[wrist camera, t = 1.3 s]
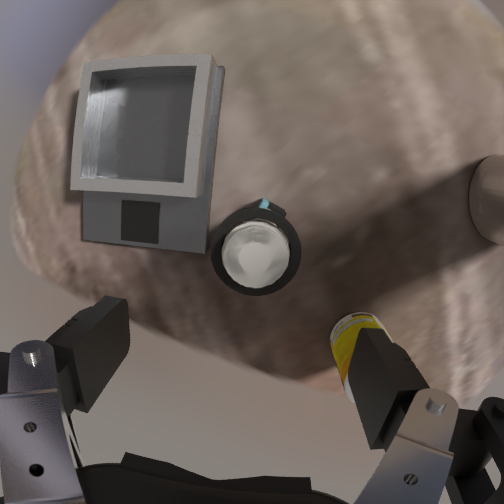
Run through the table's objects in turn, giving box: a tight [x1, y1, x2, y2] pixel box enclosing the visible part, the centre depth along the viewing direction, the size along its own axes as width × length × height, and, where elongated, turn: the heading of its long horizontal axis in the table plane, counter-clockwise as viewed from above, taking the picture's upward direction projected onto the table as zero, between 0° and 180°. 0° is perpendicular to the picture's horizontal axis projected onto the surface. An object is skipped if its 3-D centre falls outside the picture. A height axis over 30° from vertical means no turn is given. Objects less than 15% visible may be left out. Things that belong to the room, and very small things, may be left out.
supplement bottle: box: [330, 312, 395, 404], centre depth 25 cm, size 6×6×10 cm
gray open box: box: [70, 54, 225, 254], centre depth 24 cm, size 12×16×4 cm
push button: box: [211, 198, 301, 296], centre depth 23 cm, size 7×5×10 cm
